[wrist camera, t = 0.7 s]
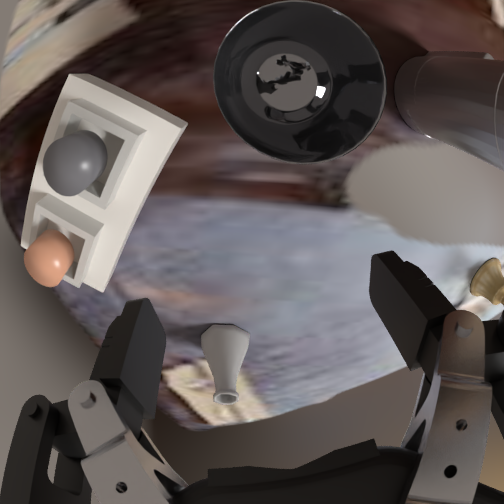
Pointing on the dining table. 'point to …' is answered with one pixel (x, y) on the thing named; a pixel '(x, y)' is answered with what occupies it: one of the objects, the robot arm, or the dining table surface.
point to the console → (109, 183)
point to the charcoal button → (74, 162)
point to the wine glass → (300, 82)
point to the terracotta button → (49, 257)
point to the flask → (225, 359)
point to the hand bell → (489, 282)
